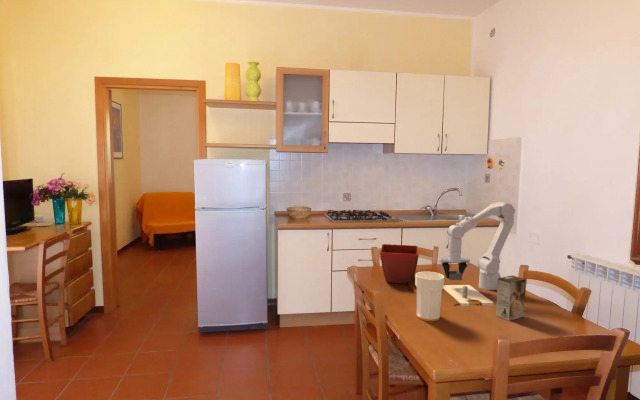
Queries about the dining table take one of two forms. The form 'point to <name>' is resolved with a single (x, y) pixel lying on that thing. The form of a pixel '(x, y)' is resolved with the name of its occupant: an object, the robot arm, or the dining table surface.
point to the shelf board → (470, 296)
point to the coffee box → (510, 297)
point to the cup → (429, 295)
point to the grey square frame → (455, 275)
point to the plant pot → (399, 262)
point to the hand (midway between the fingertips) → (453, 277)
